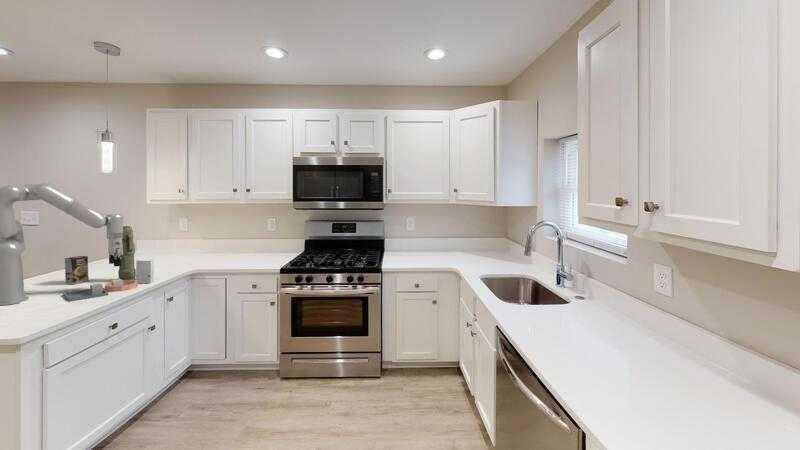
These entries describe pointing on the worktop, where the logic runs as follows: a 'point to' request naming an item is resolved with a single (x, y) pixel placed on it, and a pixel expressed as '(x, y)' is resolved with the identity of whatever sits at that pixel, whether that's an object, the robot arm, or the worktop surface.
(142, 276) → the skincare box
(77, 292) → the tray
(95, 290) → the pebble
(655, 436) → the worktop surface
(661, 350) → the worktop surface
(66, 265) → the coffee box
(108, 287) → the bowl
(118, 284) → the pebble
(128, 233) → the thermos
